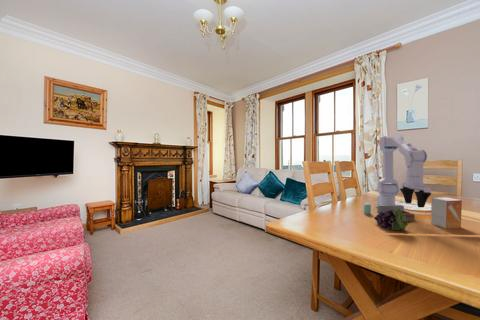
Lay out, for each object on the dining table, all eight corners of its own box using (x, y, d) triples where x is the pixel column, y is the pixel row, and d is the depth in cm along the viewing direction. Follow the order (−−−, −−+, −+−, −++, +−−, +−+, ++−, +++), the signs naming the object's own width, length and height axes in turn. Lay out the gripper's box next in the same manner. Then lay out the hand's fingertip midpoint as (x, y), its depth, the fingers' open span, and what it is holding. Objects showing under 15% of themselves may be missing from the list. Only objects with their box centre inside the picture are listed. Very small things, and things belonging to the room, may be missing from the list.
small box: (446, 230, 87) (446, 200, 87) (430, 225, 94) (430, 197, 93) (461, 229, 89) (462, 200, 88) (445, 224, 95) (445, 196, 94)
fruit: (383, 230, 95) (421, 233, 82) (368, 230, 91) (406, 233, 78) (380, 208, 98) (416, 208, 85) (365, 207, 94) (401, 206, 81)
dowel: (362, 214, 112) (362, 203, 112) (368, 214, 111) (368, 203, 111) (365, 215, 108) (365, 204, 108) (372, 216, 108) (372, 204, 108)
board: (376, 213, 112) (377, 204, 112) (401, 214, 111) (401, 205, 111) (400, 225, 94) (400, 214, 94) (429, 225, 93) (430, 215, 93)
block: (389, 215, 106) (389, 210, 106) (403, 216, 105) (404, 210, 105) (399, 220, 99) (399, 214, 99) (414, 220, 98) (414, 214, 98)
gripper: (395, 174, 101) (394, 201, 101) (418, 177, 86) (417, 209, 87) (409, 174, 100) (409, 201, 101) (435, 177, 86) (435, 209, 86)
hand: (414, 205), depth 94 cm, fingers open, 7 cm apart
